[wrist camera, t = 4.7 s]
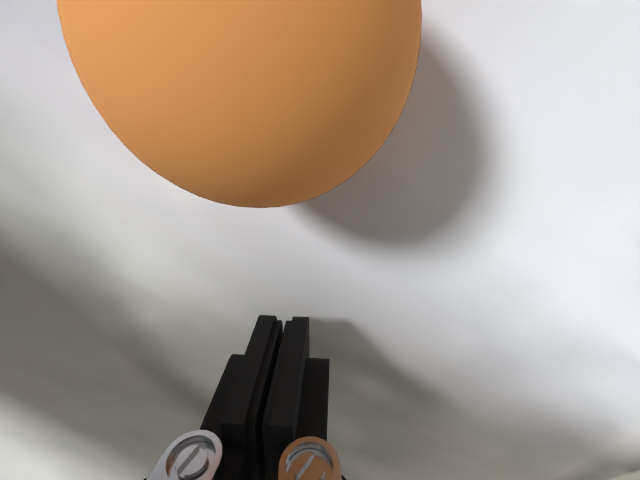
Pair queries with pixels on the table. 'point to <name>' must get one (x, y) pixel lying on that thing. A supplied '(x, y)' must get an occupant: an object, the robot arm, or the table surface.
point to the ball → (247, 87)
